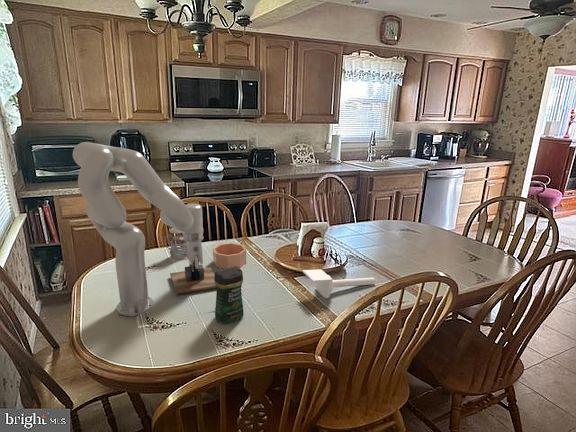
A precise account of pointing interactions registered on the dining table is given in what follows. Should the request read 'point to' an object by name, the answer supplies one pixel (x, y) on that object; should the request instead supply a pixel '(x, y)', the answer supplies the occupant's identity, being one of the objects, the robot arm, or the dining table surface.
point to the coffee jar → (228, 295)
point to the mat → (196, 291)
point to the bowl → (229, 255)
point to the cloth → (186, 284)
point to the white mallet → (333, 281)
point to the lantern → (175, 253)
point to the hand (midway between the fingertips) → (194, 277)
